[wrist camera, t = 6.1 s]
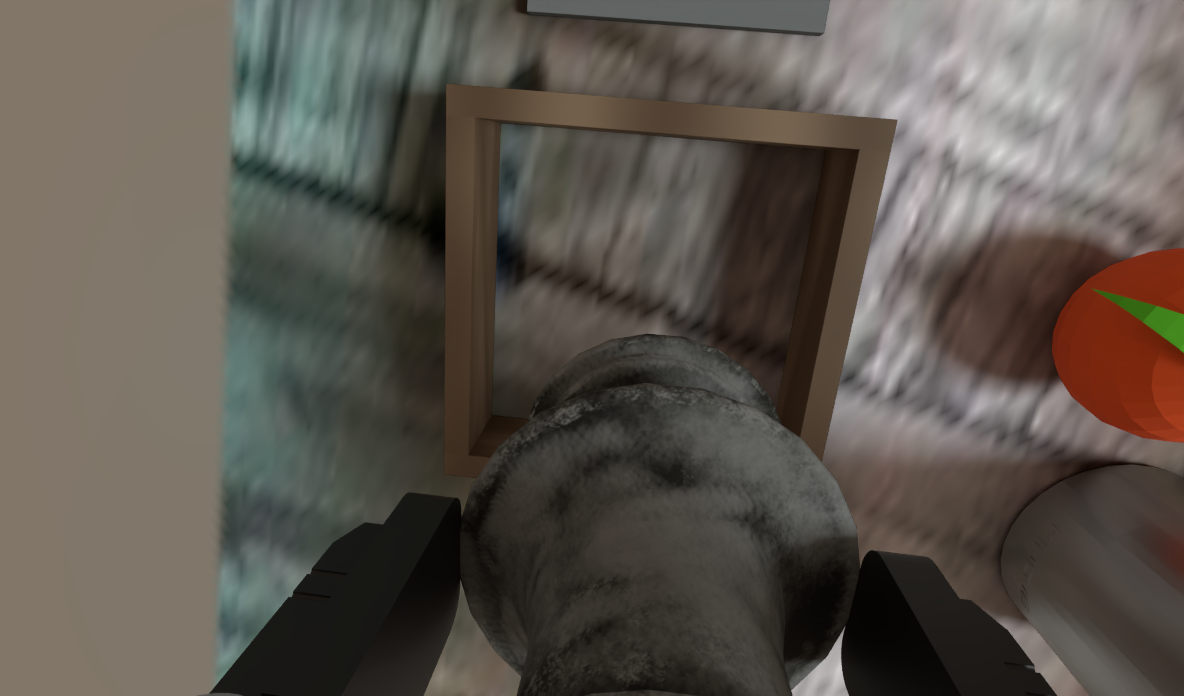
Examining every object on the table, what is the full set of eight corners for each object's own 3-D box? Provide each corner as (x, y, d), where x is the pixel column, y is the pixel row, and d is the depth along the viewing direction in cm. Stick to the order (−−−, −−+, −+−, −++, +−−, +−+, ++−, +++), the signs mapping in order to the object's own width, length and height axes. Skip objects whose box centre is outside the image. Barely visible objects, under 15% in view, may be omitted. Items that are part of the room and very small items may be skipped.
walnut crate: (856, 125, 24) (897, 119, 20) (787, 467, 28) (809, 515, 24) (476, 94, 24) (446, 83, 21) (470, 432, 29) (444, 474, 25)
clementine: (957, 336, 26) (1068, 401, 19) (1075, 189, 24) (1247, 204, 17) (1108, 425, 26) (1267, 518, 20) (1237, 290, 24) (1464, 342, 18)
